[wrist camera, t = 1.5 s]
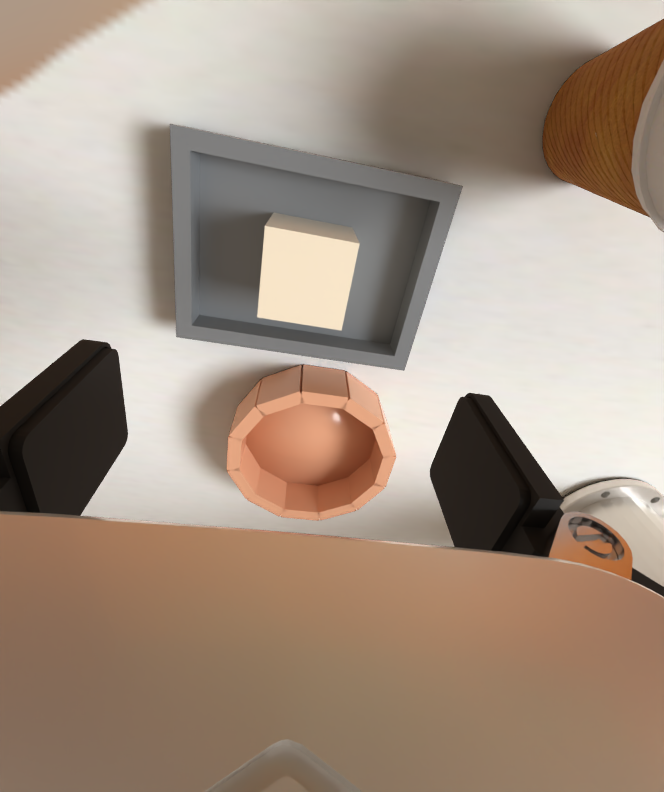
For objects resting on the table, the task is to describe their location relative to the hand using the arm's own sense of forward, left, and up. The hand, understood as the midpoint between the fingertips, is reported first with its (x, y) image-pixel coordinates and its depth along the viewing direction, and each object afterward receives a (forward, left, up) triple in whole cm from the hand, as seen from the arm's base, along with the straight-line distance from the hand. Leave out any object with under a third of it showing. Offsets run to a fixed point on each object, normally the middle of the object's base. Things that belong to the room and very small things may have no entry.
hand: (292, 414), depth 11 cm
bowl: (-3, +15, -18) cm, 23 cm away
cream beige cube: (0, 0, -18) cm, 18 cm away
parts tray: (0, 0, -18) cm, 18 cm away
